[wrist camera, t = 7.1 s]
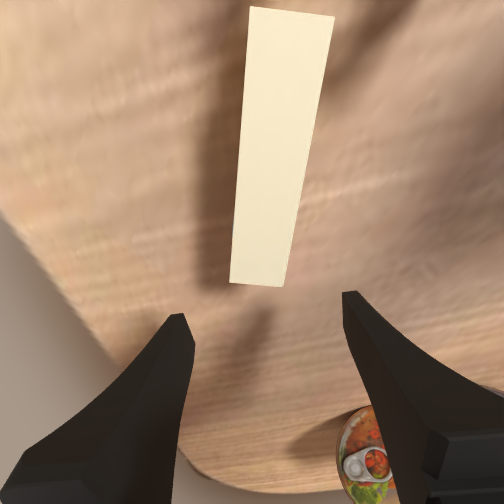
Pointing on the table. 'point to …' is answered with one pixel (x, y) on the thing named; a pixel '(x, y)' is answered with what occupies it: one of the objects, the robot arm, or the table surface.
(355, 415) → the tin
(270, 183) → the cream square stick
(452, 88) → the table surface
